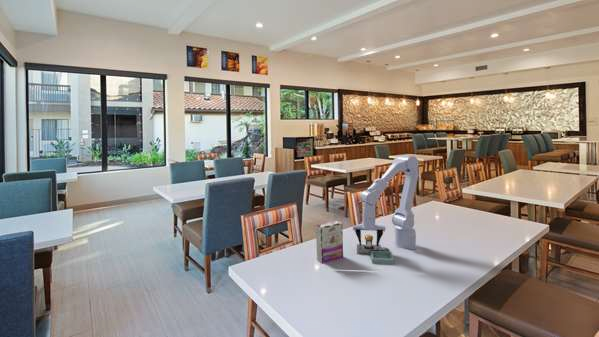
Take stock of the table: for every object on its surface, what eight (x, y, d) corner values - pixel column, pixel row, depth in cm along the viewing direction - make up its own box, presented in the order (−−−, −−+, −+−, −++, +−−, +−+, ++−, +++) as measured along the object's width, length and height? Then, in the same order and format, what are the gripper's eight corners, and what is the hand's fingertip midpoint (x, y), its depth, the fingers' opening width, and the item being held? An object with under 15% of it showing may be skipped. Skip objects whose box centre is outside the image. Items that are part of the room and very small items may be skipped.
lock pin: (372, 249, 151) (372, 235, 150) (373, 252, 148) (373, 237, 147) (364, 249, 152) (364, 235, 151) (365, 252, 148) (365, 237, 147)
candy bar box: (337, 254, 148) (336, 220, 146) (343, 258, 143) (343, 222, 141) (316, 260, 143) (315, 224, 141) (322, 264, 138) (321, 227, 136)
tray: (391, 256, 144) (391, 251, 144) (393, 265, 135) (393, 259, 135) (370, 255, 146) (370, 250, 145) (371, 264, 137) (371, 258, 137)
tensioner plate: (389, 250, 152) (389, 245, 151) (390, 256, 145) (391, 250, 144) (356, 249, 154) (356, 244, 154) (356, 255, 147) (356, 249, 147)
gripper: (384, 214, 150) (384, 242, 152) (352, 214, 153) (352, 241, 154) (386, 219, 143) (385, 248, 145) (352, 218, 146) (353, 247, 147)
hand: (368, 245), depth 149 cm, fingers open, 7 cm apart
